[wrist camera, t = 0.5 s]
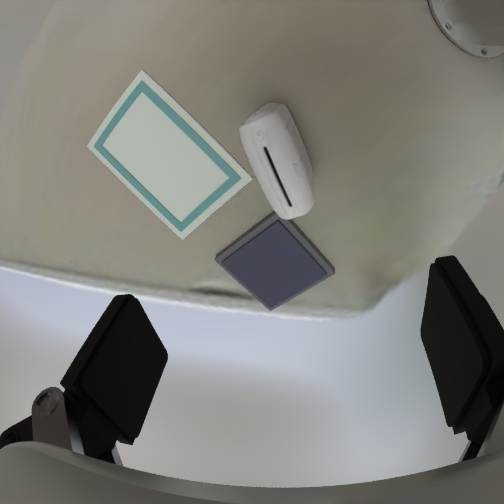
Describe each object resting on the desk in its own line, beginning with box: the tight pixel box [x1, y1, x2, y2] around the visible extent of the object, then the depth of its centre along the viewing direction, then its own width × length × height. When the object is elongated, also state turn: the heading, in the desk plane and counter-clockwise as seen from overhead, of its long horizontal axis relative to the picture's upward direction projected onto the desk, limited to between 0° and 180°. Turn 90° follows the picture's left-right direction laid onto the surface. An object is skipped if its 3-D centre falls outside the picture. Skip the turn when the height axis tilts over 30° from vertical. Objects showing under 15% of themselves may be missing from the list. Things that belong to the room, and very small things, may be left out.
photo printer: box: [239, 103, 315, 220], centre depth 29 cm, size 10×4×12 cm, turn 24°
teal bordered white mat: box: [87, 70, 253, 240], centre depth 38 cm, size 14×20×1 cm
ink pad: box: [215, 211, 335, 311], centre depth 43 cm, size 12×12×2 cm
